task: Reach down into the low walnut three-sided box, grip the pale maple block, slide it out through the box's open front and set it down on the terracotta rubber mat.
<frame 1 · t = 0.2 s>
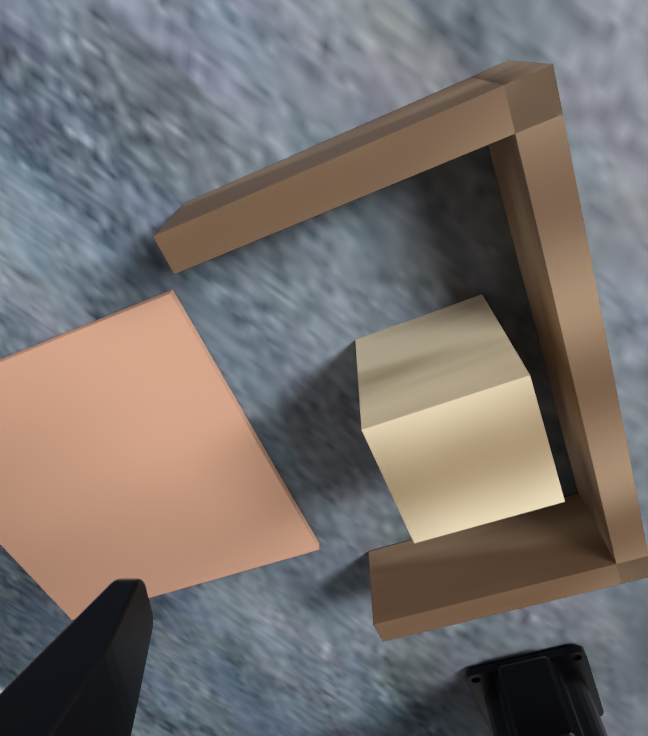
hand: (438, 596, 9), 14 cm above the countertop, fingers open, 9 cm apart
maple block: (449, 412, 20), in the open side box
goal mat: (115, 479, 26), on the countertop
open side box: (436, 371, 23), on the countertop
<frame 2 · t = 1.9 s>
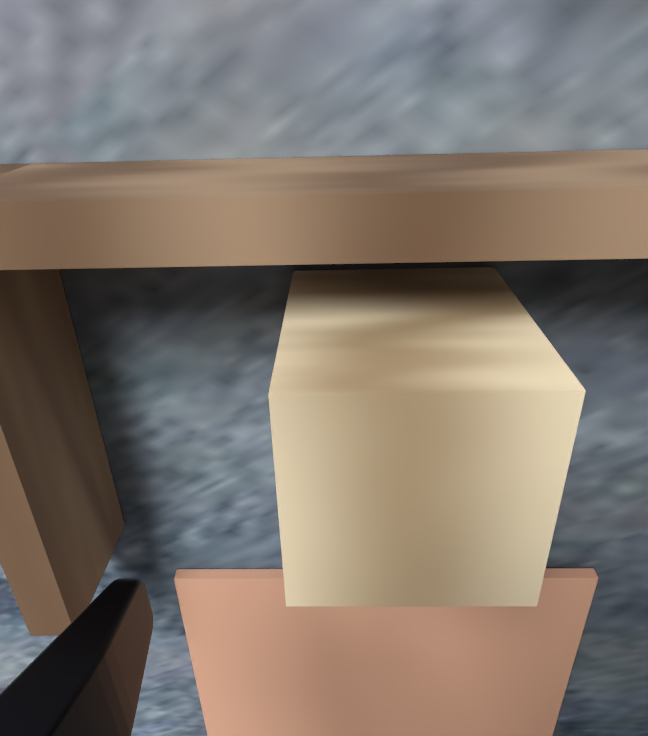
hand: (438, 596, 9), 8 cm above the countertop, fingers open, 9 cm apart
maple block: (400, 418, 13), in the open side box
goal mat: (378, 694, 23), on the countertop
open side box: (390, 358, 15), on the countertop
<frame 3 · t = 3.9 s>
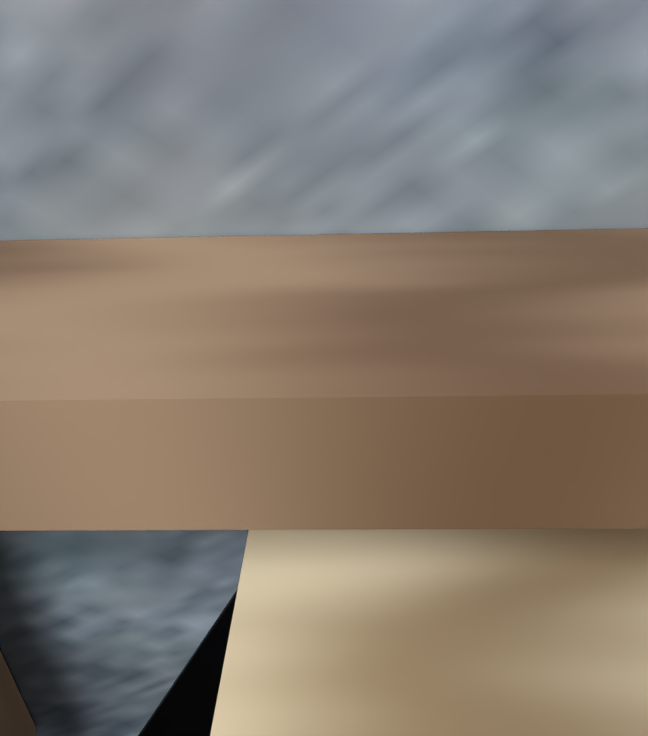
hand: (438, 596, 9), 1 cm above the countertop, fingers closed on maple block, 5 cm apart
maple block: (458, 706, 7), in the open side box, touching gripper
open side box: (425, 532, 10), on the countertop
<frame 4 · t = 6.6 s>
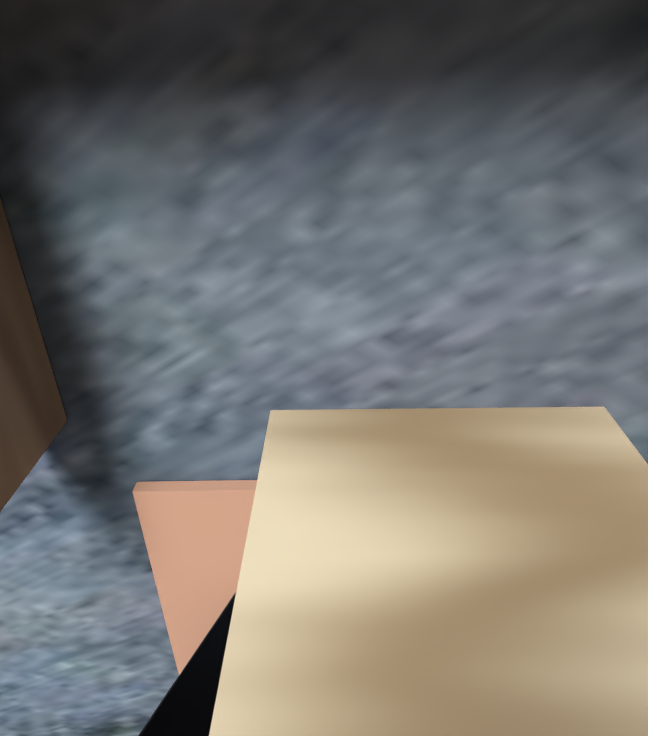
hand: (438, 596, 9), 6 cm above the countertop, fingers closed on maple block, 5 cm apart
maple block: (458, 705, 7), point 8 cm above the countertop, touching gripper
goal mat: (392, 647, 19), on the countertop
open side box: (407, 161, 11), on the countertop
when the fingers open (2 cm above the countertop, at t = 9.5 s): maple block stays where it is, resting on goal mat.
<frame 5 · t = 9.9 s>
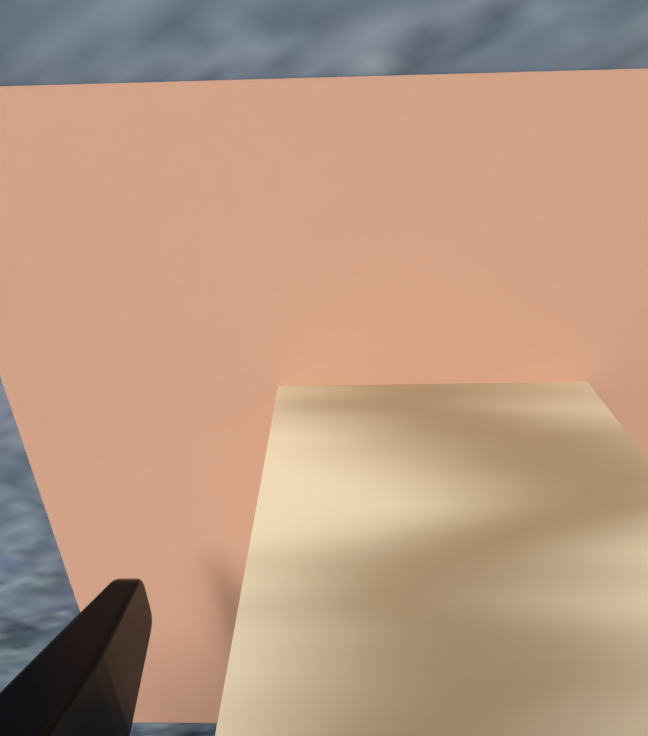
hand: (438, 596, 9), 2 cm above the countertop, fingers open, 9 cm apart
maple block: (451, 651, 8), on the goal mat
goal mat: (416, 488, 11), on the countertop
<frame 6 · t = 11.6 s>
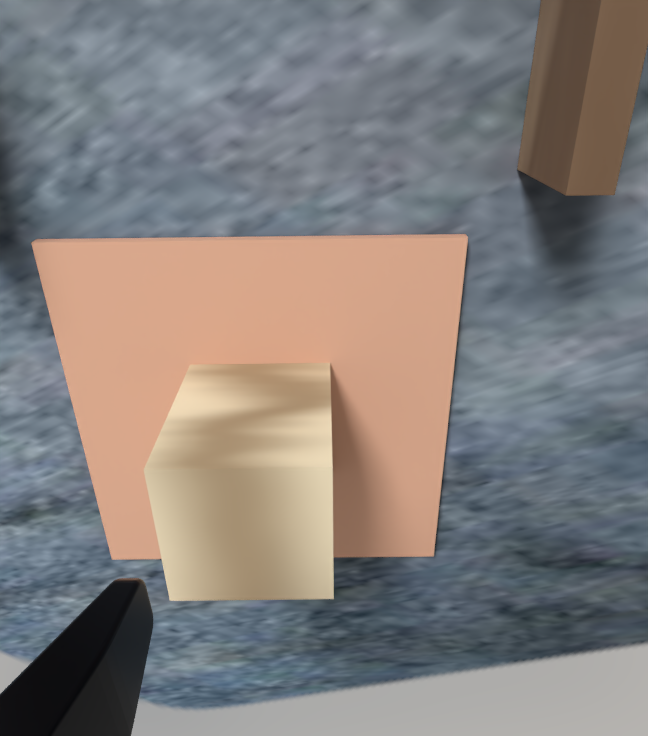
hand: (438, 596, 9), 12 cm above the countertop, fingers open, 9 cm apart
maple block: (256, 472, 19), on the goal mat
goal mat: (263, 417, 22), on the countertop
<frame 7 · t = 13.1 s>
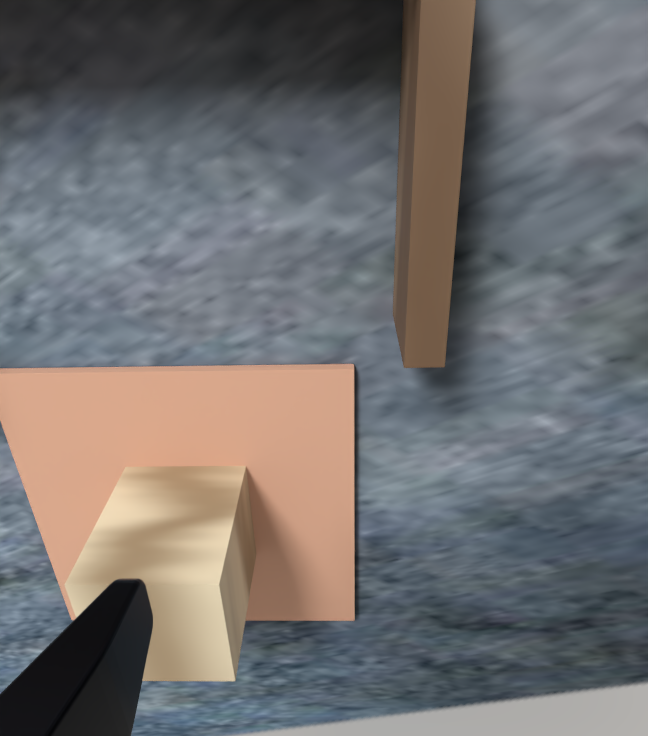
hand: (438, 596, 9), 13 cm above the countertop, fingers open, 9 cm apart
maple block: (176, 566, 22), on the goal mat
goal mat: (194, 506, 25), on the countertop
open side box: (129, 141, 18), on the countertop
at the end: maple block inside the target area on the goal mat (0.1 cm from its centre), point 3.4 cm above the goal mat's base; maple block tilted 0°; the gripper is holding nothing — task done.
